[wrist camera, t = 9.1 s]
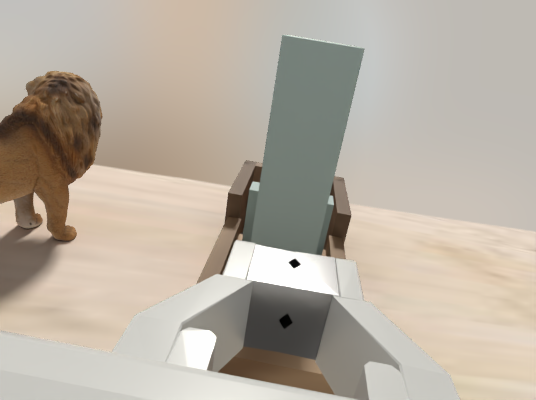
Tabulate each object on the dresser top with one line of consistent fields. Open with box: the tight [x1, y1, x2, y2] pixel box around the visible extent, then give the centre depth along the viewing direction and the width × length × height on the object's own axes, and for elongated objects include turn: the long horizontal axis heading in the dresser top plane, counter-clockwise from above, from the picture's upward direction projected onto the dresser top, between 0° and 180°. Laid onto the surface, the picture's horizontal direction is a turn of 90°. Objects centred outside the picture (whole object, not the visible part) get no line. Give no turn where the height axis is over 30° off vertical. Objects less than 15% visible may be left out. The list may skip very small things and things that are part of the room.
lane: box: [197, 216, 346, 395], centre depth 19 cm, size 7×9×2 cm
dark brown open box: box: [225, 160, 351, 250], centre depth 25 cm, size 7×6×4 cm
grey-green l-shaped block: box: [242, 35, 364, 256], centre depth 18 cm, size 4×4×11 cm
